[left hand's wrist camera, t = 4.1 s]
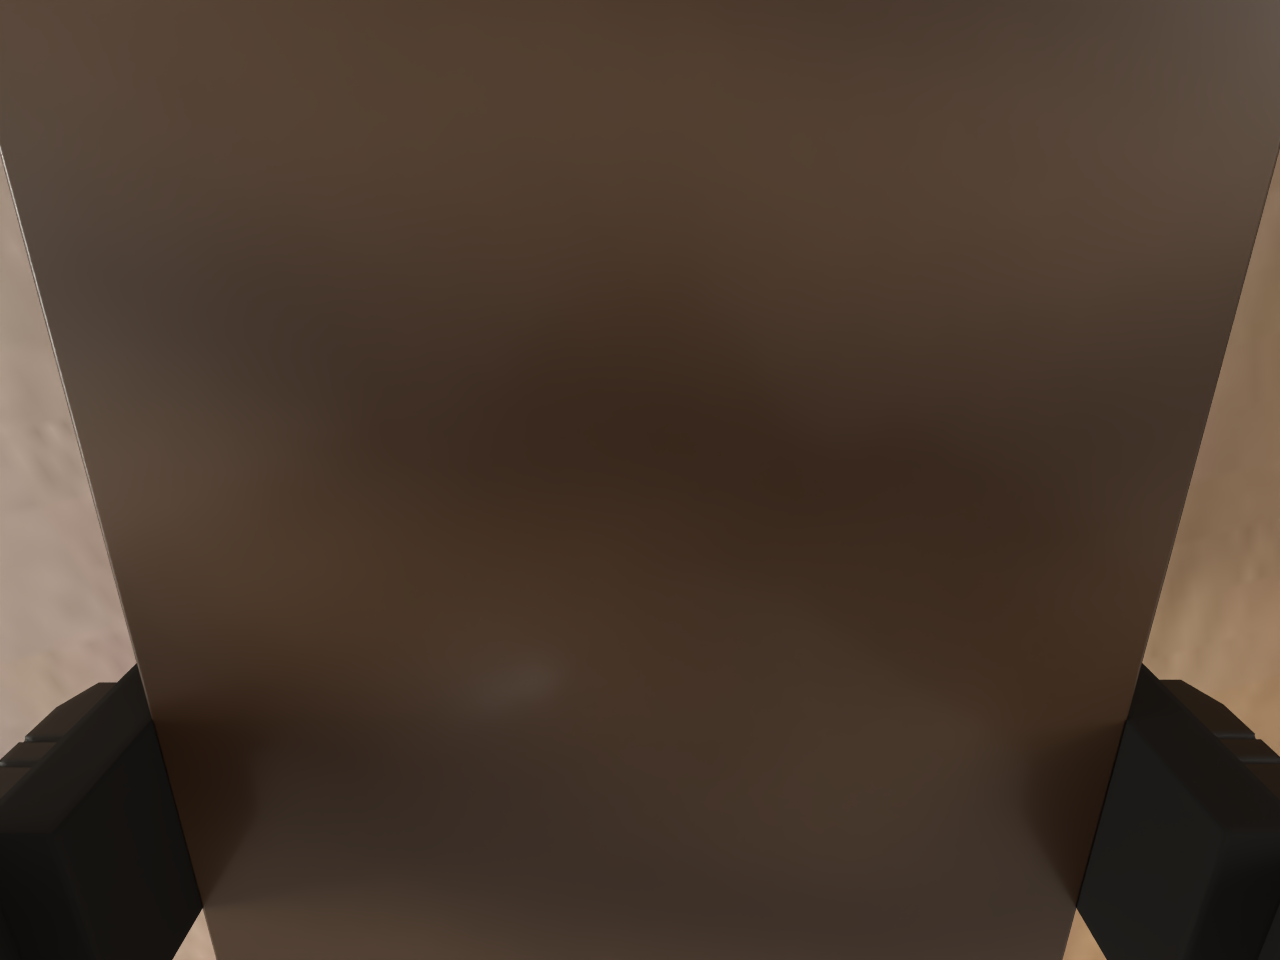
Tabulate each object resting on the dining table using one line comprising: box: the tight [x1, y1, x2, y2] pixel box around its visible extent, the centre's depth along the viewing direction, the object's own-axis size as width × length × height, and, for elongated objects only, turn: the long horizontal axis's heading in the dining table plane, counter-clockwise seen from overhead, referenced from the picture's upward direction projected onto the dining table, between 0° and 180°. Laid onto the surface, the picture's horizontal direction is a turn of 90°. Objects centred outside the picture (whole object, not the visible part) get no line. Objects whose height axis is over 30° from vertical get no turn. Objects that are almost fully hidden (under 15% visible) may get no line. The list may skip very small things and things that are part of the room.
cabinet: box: [0, 0, 1280, 960], centre depth 12 cm, size 18×10×10 cm, turn 0°
